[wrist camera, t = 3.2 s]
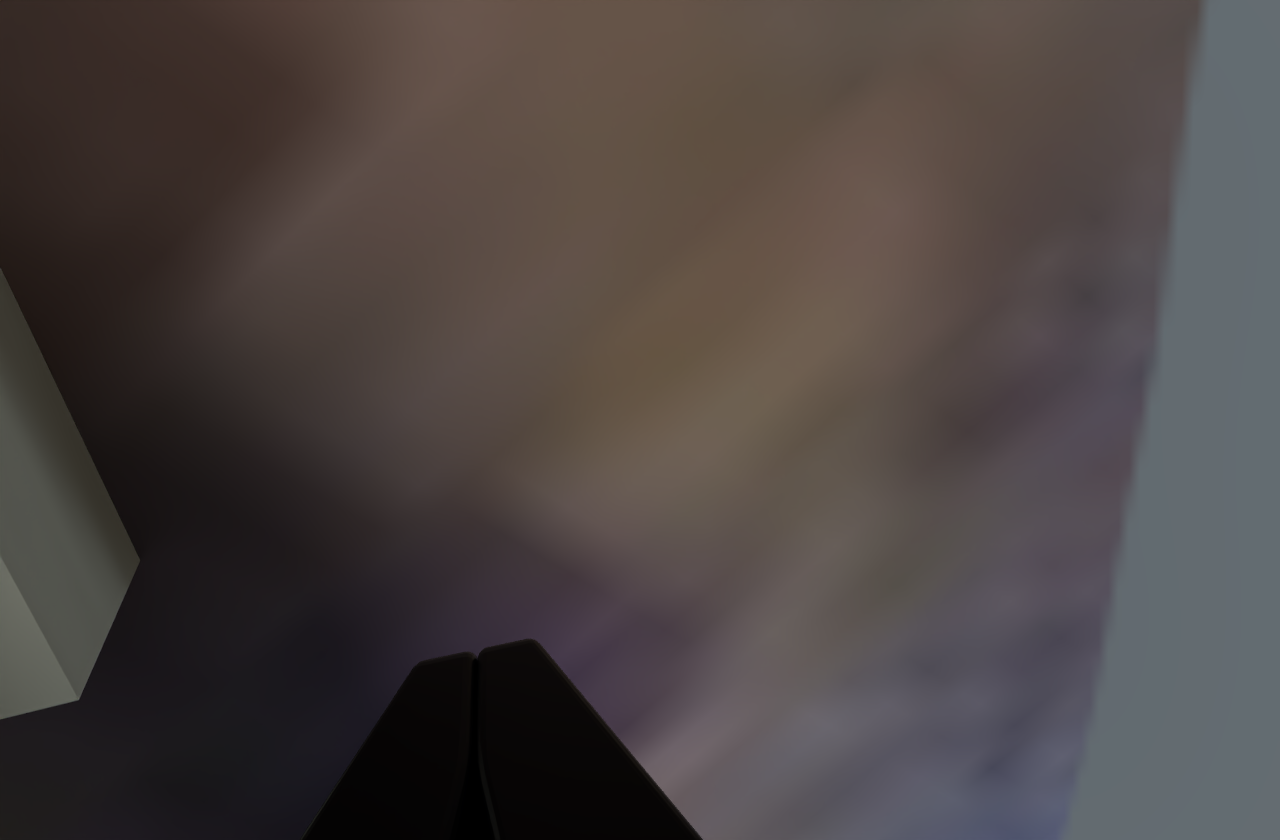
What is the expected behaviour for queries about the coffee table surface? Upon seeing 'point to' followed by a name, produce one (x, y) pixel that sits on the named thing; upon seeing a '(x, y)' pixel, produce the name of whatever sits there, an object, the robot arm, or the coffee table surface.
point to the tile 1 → (50, 534)
